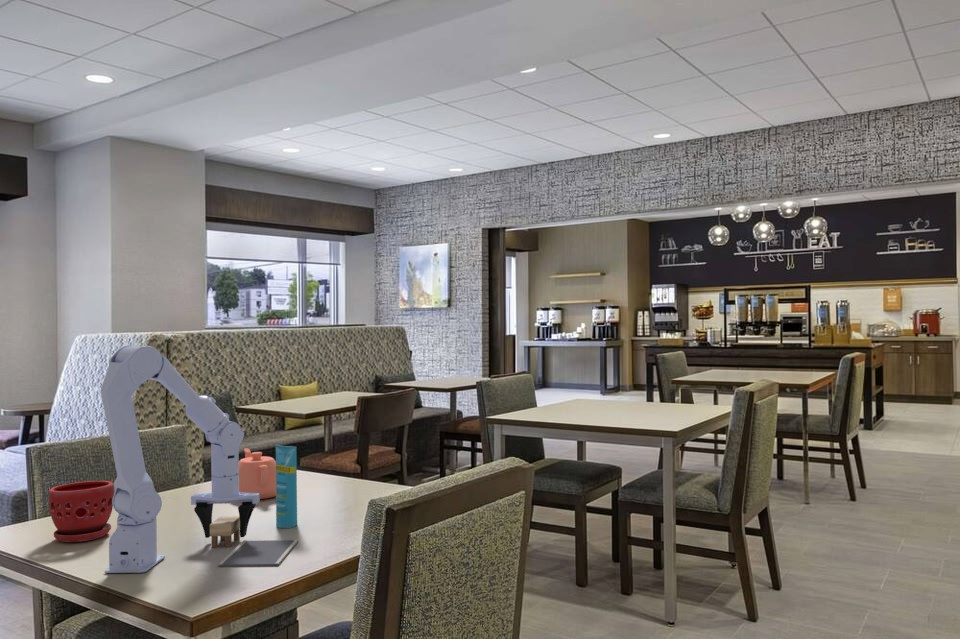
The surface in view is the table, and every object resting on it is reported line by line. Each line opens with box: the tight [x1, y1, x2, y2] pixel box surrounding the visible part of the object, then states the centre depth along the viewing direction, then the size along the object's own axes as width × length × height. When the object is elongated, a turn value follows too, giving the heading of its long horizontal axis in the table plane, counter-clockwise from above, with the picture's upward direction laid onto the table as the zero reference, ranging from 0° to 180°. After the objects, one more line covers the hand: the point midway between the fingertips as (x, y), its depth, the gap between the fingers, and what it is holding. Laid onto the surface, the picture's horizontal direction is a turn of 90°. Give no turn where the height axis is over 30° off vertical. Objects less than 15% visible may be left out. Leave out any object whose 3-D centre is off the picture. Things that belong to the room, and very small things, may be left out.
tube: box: [275, 444, 298, 529], centre depth 175 cm, size 7×5×19 cm, turn 60°
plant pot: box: [48, 480, 115, 543], centre depth 168 cm, size 13×13×12 cm
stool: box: [210, 515, 241, 548], centre depth 162 cm, size 7×4×5 cm, turn 0°
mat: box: [217, 539, 299, 568], centre depth 154 cm, size 16×12×1 cm
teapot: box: [239, 447, 276, 500], centre depth 207 cm, size 22×15×12 cm
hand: (225, 536), depth 162 cm, fingers open, 7 cm apart
